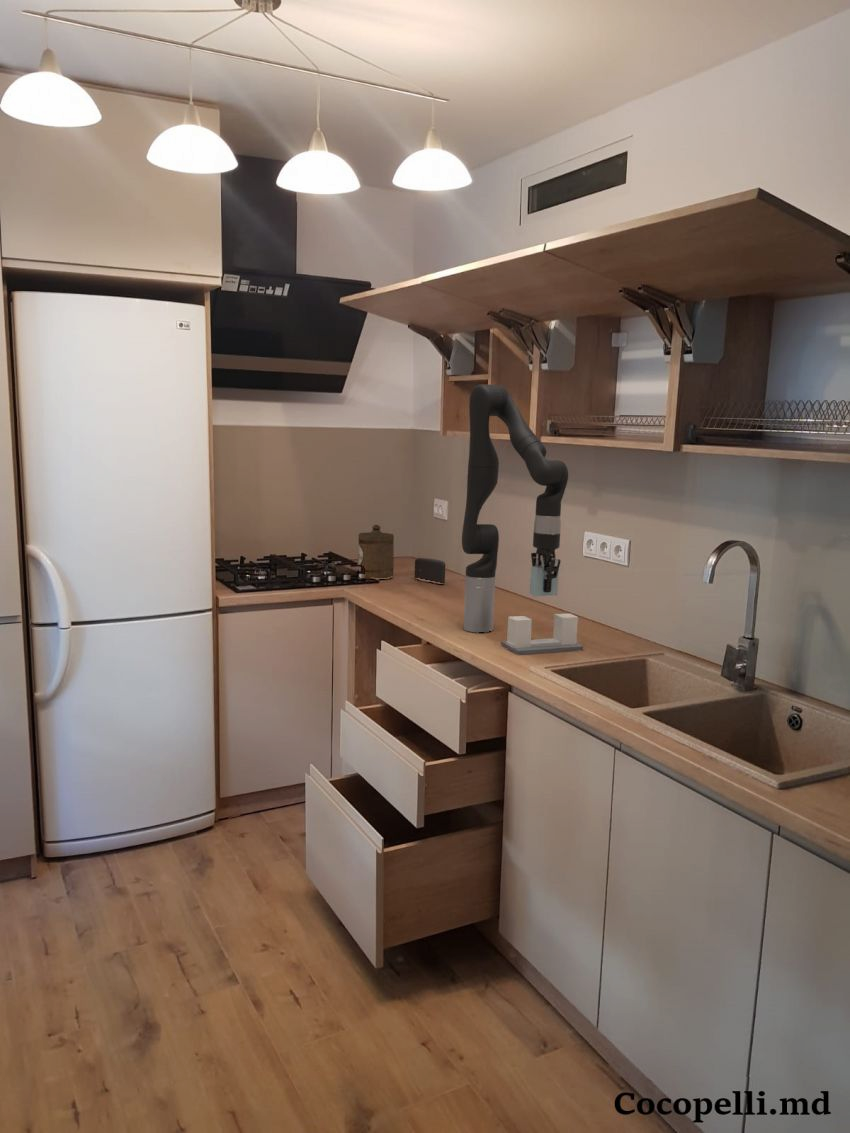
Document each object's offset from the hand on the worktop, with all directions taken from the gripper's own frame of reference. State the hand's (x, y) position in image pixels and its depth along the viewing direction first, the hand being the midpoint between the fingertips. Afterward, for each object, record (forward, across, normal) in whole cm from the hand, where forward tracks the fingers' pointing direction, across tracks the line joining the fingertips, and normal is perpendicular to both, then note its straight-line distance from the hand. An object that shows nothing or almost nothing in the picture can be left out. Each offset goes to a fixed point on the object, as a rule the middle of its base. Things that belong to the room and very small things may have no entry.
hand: (543, 590), depth 242 cm
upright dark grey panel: (+18, -105, +4) cm, 107 cm away
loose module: (+1, 0, 0) cm, 1 cm away
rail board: (+17, 0, 0) cm, 17 cm away
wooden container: (+18, -121, -14) cm, 123 cm away
